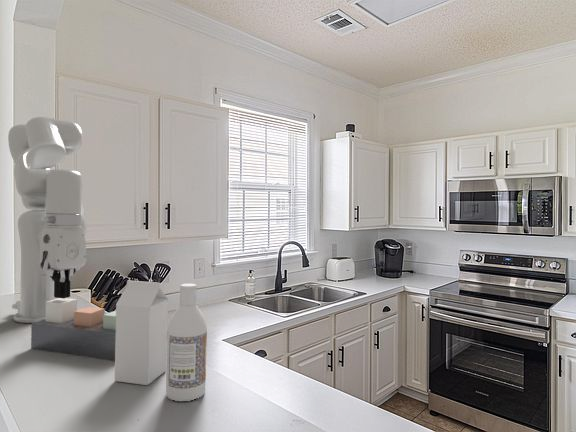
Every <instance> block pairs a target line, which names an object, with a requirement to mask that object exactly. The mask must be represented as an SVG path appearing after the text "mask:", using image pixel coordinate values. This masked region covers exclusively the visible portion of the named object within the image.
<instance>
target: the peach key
mask: <svg viewBox="0 0 576 432" xmlns="http://www.w3.org/2000/svg"><path fill="white" fill-rule="evenodd" d="M105 309H106V308H102V307H101V308H100V307H94V306H93V307H92V306H87V307H83V308H80V309H77V311H74V325H79V326H87V327H92V326H94V325H97V324H100V323H102V322H103V315H105V314H106V312H105Z"/></svg>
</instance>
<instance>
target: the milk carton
mask: <svg viewBox="0 0 576 432" xmlns="http://www.w3.org/2000/svg"><path fill="white" fill-rule="evenodd" d="M115 306H116V307H115V311H116V339H115V361H114V382H120V383H128V384H135V385H142V386H149V385H150V384H151V383H153V381H155V380H157V378H159V377H160V376H161V375H162V374H164V373H165V372H166V371H167V332H168V315H169V314H168V313H169V311H168V310H169V299H168V297H167V296H166V295H165V293H164V292H163V290H162V289H161V283H160V282H154V281H142V280H141V281H139V280H129V279H128V280H126V287H125V289H124V290H123V292H122V293H121V296H120V297H119V299H118V300H117V302H116V304H115Z"/></svg>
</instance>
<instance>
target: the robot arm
mask: <svg viewBox="0 0 576 432" xmlns="http://www.w3.org/2000/svg"><path fill="white" fill-rule="evenodd" d="M7 136H8V137H7V140H8V141H7V142H8V149H9V152H10V156H11V158H12V160H13V162H14V169H13V170H14V171H13V172H14V173H13V175H14V181H15V187H16V188H15V189H16V191H17V193H18V194H19V196H20V197H21V201H22V205H23V206H24V208H26V209H27V211H25V212H23V213H22V214H20V215H19V218H18V220H17V230H18V235H19V244H20V299H19V300H17V301H16V302H15V303H13V304H12V305H11V309H14V310H17V313H15V314H14V315H13V321H14V322H17V323H25V324H32V323H34V322H37V321H40V320H44V319H46V302H47V301H51V300H55V299H58V298H63V299H64V298H70V297H71V281H72V280H73V278H74V275H75V274H76V272H78V271H80V270H81V269H82V267H84V266H85V265H86V263H87V244H86V243H87V242H86V234H87V221H86V216H85V209H84V204H83V203H84V202H83V196H82V195H83V194H82V193H83V178H82V177H83V176H82V174H81V173H80V172H79V171H77V170H73V169H60V168H56V169H55V167H57V166H59V165H61V164H62V163H63V162H64V160H65V159H66V157H67V156H70V155H72V154H73V153H75V152H77V151H78V150H79V149H80V148H81V146H82V144H83V141H84V139H83V138H84V137H83V131H82V129H81V126H80V125H79V124H78V123H77V122H74V121H72V120H67V119H59V118H53V117H46V116H36V117H32V118H30V119H29V120H28V121H27V123H25V124H16V125H14V126H11V128H9V131H8V135H7ZM51 168H54V169H51Z"/></svg>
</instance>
